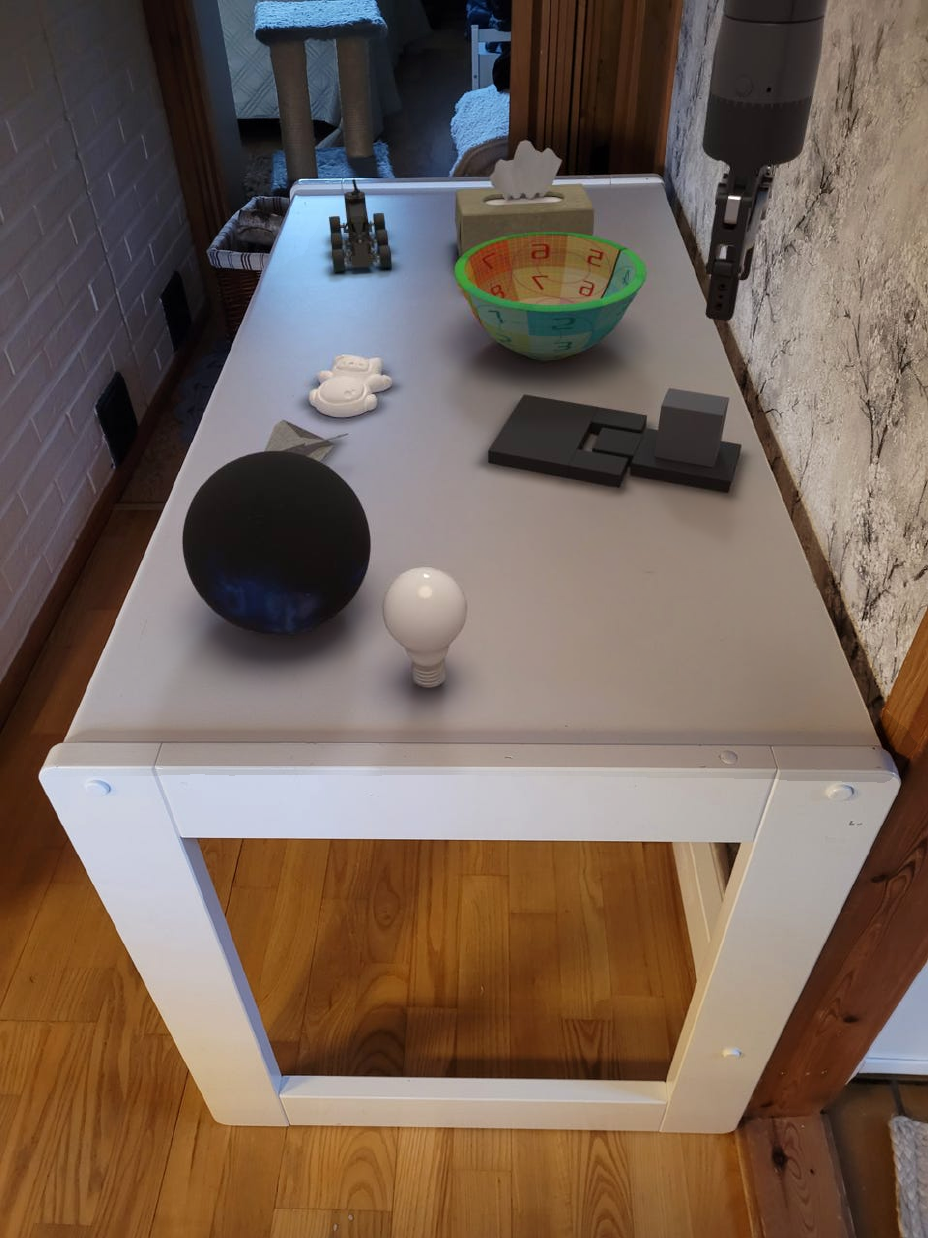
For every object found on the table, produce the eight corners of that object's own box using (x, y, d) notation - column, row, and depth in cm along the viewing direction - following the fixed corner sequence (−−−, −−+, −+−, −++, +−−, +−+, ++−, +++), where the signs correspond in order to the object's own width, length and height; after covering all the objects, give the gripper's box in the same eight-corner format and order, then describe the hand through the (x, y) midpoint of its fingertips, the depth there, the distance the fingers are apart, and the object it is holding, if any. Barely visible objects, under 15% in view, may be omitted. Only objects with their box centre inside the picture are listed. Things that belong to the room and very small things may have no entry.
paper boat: (271, 428, 103) (351, 403, 102) (289, 486, 104) (369, 462, 103) (234, 428, 91) (323, 400, 90) (255, 493, 92) (344, 466, 91)
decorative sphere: (381, 554, 89) (366, 412, 78) (373, 670, 78) (355, 523, 67) (219, 558, 89) (183, 417, 78) (188, 675, 78) (142, 529, 67)
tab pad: (739, 456, 99) (752, 391, 94) (728, 493, 94) (742, 427, 89) (604, 432, 103) (610, 369, 98) (587, 467, 98) (592, 402, 93)
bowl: (492, 407, 107) (492, 323, 101) (433, 322, 123) (429, 245, 116) (670, 371, 112) (681, 290, 106) (591, 295, 128) (597, 219, 121)
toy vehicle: (384, 231, 146) (380, 171, 140) (392, 271, 135) (387, 208, 129) (331, 235, 145) (324, 175, 139) (334, 276, 134) (327, 212, 128)
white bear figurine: (403, 371, 114) (401, 347, 112) (366, 422, 106) (363, 398, 103) (336, 361, 116) (333, 338, 114) (294, 411, 108) (290, 387, 106)
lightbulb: (448, 643, 80) (444, 540, 72) (482, 693, 75) (481, 589, 68) (378, 668, 78) (366, 564, 70) (408, 721, 74) (398, 617, 66)
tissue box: (460, 272, 134) (457, 153, 123) (455, 245, 141) (451, 130, 130) (592, 265, 135) (601, 146, 124) (580, 238, 142) (587, 123, 131)
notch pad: (645, 426, 104) (647, 414, 103) (619, 487, 96) (620, 475, 95) (523, 405, 107) (523, 393, 106) (488, 462, 99) (487, 450, 98)
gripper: (803, 114, 64) (760, 339, 75) (824, 64, 74) (783, 270, 85) (692, 106, 66) (666, 327, 77) (726, 59, 76) (699, 260, 87)
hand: (727, 297), depth 81 cm, fingers open, 8 cm apart
